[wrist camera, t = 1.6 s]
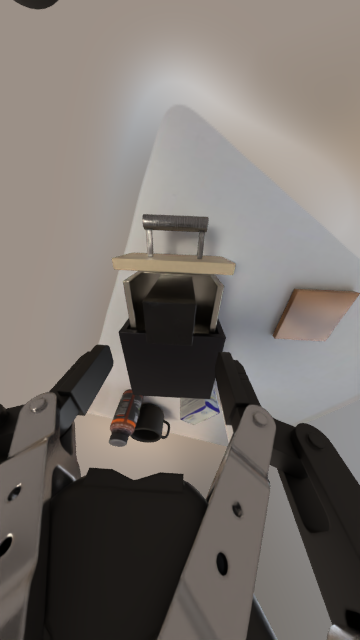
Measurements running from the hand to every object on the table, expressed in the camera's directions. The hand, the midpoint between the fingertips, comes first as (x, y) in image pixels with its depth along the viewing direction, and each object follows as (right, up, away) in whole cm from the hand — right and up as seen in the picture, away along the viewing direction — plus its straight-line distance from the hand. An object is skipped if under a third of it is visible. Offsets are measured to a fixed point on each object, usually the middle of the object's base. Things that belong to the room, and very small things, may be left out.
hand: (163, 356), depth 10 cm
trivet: (+25, +4, +16) cm, 30 cm away
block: (+1, +7, +12) cm, 14 cm away
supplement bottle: (-13, -19, +31) cm, 39 cm away
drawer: (+1, +9, +13) cm, 15 cm away
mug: (-7, -27, +35) cm, 45 cm away
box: (+6, -13, +27) cm, 31 cm away
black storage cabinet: (0, -1, +20) cm, 20 cm away
